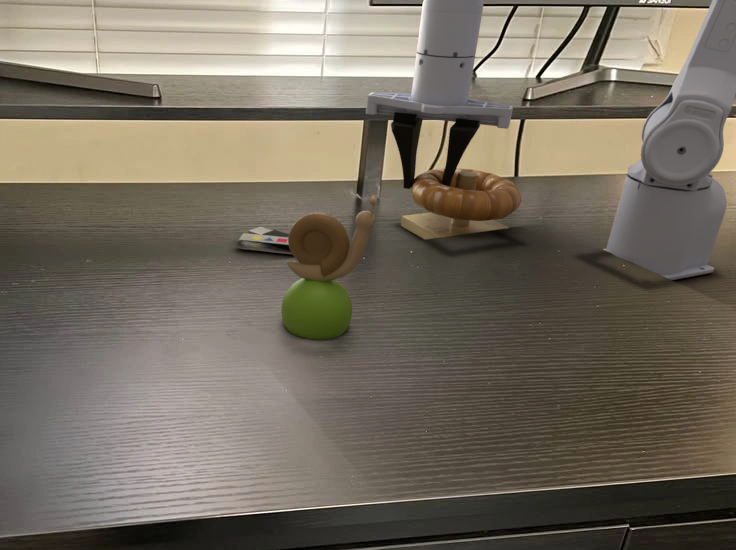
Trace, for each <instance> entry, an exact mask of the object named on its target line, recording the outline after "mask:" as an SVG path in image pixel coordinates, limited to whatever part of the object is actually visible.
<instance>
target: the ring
mask: <svg viewBox="0 0 736 550" xmlns="http://www.w3.org/2000/svg"><path fill="white" fill-rule="evenodd" d="M444 170H445V168H434V169H429V170H427V171H425V172H422V173H420V174H418V175H416V177H414V180H413V182H412V185H411V188H410V190H411V195H412V199H413V201H414V203H415V204H416V205H417V206H418V207H420V208H422V209H423V210H426V211H427V212H431V213H434V214H437V215H441V216H445V217H449V218H453V219H460V220H472V221H487V220H494V221H496V220H502V219H505V218H507V217H508V216H510V215H512V214H513V213H514V212H516V210H517V209H519V207H520V205H521V202H522V195H521V192H520V191H519V189H518V188H517V186H516V185H515V184H514V182H513V181H512V180H509V179H508V178H504V177H502V176H499V175H498V174H494V173H492V172H491V173H490V172H486V171H481V170H477V169H470V168H458V167H457V168H456V170H455V173H454V176H453V178H452V182H451V185H450V186H445V185H443V184H441V183H442V179H443V175H444ZM462 171H469V172H474V173H477V174H478V178H477V184H476V189H475V190H464V189H458V188H456V186H457V179H458V173H459V172H462Z"/></svg>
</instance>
